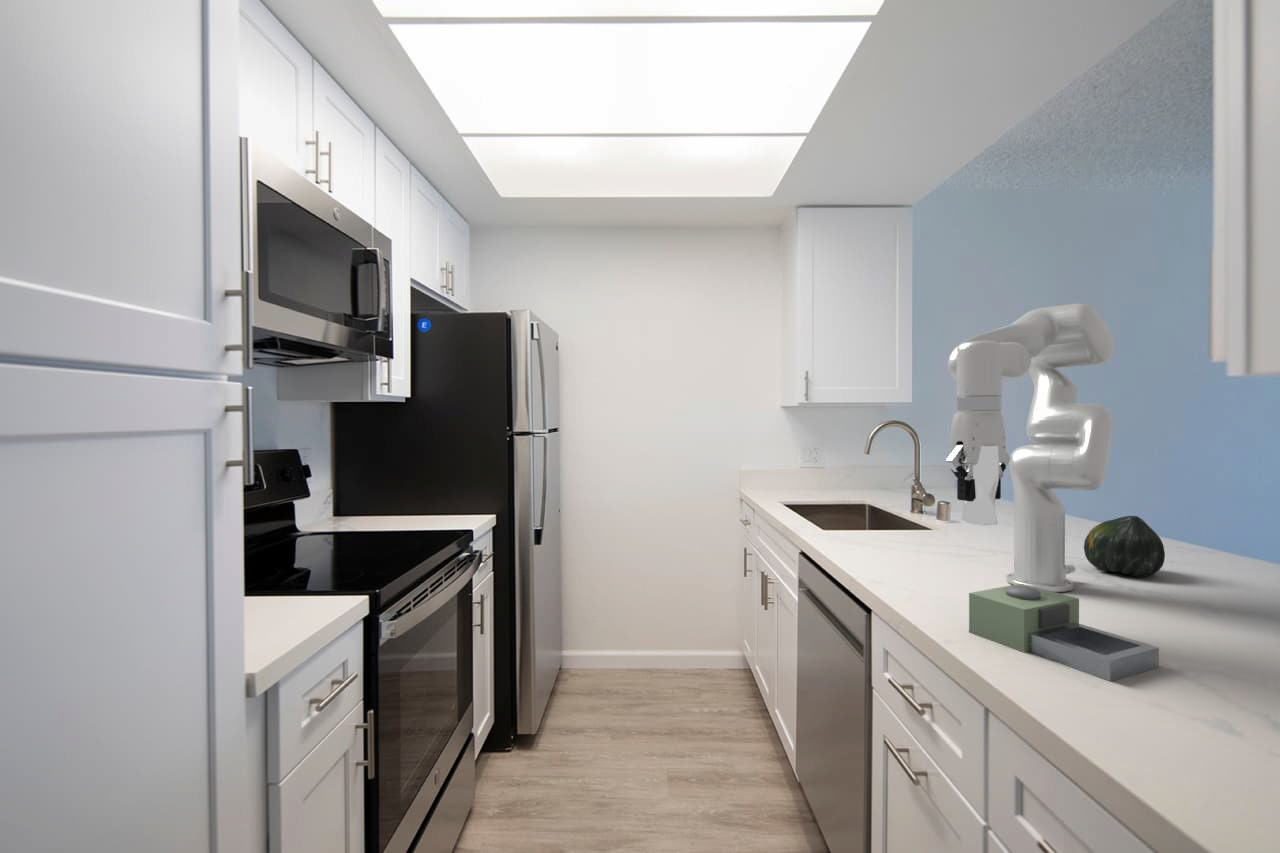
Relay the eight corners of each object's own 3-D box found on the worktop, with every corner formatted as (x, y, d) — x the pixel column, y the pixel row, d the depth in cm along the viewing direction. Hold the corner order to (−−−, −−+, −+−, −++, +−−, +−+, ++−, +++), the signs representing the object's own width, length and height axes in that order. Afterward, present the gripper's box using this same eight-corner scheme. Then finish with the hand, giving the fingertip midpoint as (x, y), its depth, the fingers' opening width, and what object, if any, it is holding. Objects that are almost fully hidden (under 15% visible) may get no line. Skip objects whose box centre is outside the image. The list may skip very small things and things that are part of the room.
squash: (1075, 540, 155) (1088, 502, 146) (1147, 546, 149) (1166, 508, 140) (1085, 586, 146) (1100, 550, 136) (1162, 595, 140) (1184, 558, 130)
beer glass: (965, 518, 119) (965, 443, 119) (1004, 522, 114) (1004, 444, 114) (952, 522, 115) (952, 445, 114) (993, 527, 109) (992, 446, 109)
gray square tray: (1075, 639, 102) (1075, 622, 102) (1158, 666, 91) (1158, 647, 91) (1028, 651, 97) (1028, 633, 97) (1110, 681, 86) (1110, 660, 86)
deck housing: (1022, 620, 111) (1022, 578, 111) (1082, 640, 102) (1082, 593, 101) (969, 631, 106) (969, 587, 106) (1027, 653, 96) (1027, 604, 96)
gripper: (993, 406, 121) (993, 494, 121) (929, 406, 114) (929, 499, 115) (1029, 405, 114) (1029, 499, 114) (962, 406, 107) (963, 505, 108)
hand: (978, 498), depth 114 cm, fingers closed on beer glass, 6 cm apart
